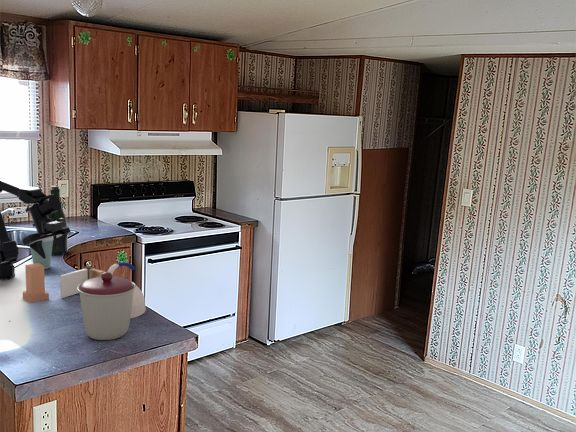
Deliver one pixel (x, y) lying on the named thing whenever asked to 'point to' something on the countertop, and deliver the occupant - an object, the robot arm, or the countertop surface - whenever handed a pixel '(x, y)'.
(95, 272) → the door frame
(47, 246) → the disposable coffee cup
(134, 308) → the kettle
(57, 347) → the countertop surface
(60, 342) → the countertop surface
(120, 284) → the canister
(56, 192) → the beer bottle
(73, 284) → the door
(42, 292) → the tan square pedestal
